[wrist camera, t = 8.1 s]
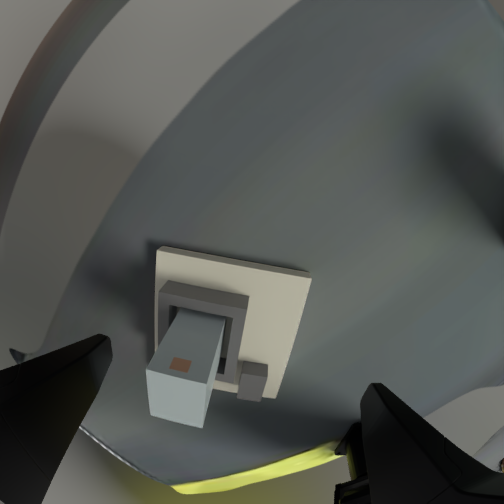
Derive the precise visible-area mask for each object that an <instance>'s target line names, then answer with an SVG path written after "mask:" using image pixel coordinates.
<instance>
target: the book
mask: <svg viewBox="0 0 504 504" xmlns="http://www.w3.org/2000/svg"><path fill="white" fill-rule="evenodd" d="M501 467H502V468H501V469H502V472H503V473H504V459H503V460H502V464H501Z"/></svg>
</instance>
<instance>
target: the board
mask: <svg viewBox="0 0 504 504" xmlns="http://www.w3.org/2000/svg"><path fill="white" fill-rule="evenodd" d="M311 280H312V278H311V275H310V272H304V271H299V270H293V269H287V268H282V267H276V266H271V265H265V264H260V263H254V262H248V261H243V260H237V259H232V258H226V257H221V256H216V255H210V254H205V253H199V252H194V251H189V250H183V249H178V248H173V247H167V246H162V247H160V248H159V249H158V250H157V256H156V276H155V352H156V350H157V348H158V347H159V345H160V343H161V341H162V340H163V338H164V336H165V334H166V333H167V331H168V329H169V327H170V326H171V324H172V322H173V321H174V319H175V317H176V316H177V314H178V312H179V310H180V309H181V307H183V308H187V309H192V310H196V311H201V312H206V313H211V314H216V315H221V316H226V317H227V319H226V326H225V333H224V340H223V347H222V353H221V356H220V360H219V364H218V368H217V372H216V376H215V380H214V384H213V389H218V390H223V391H228V392H234V393H237V398H238V399H244V400H250V401H257V402H261V398H262V397H266V398H274V399H276V396H277V393H278V390H279V387H280V384H281V381H282V378H283V375H284V372H285V369H286V366H287V363H288V359H289V356H290V353H291V350H292V347H293V343H294V340H295V337H296V333H297V330H298V327H299V323H300V320H301V316H302V313H303V309H304V306H305V302H306V298H307V295H308V291H309V287H310V284H311Z"/></svg>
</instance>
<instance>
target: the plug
mask: <svg viewBox="0 0 504 504" xmlns="http://www.w3.org/2000/svg"><path fill="white" fill-rule="evenodd" d="M226 319H227V317H226V316H221V315H216V314H211V313H206V312H201V311H196V310H192V309H187V308H183V307H181V309H180V310H179V312H178V314H177V316H176V317H175V319H174V321H173V322H172V324H171V326H170V327H169V329H168V331H167V333H166V334H165V336H164V338H163V340H162V341H161V343H160V345H159V347H158V348H157V350H156V352H155V354H154V355H153V357H152V359H151V361H150V362H149V364H148V366H147V368H146V377H147V389H148V398H149V407H150V415H152V416H156V417H159V418H163V419H166V420H170V421H174V422H178V423H182V424H186V425H190V426H194V427H199V428H203V424H204V420H205V416H206V412H207V408H208V404H209V400H210V396H211V392H212V388H213V384H214V380H215V376H216V372H217V368H218V364H219V360H220V356H221V353H222V347H223V340H224V333H225V326H226Z"/></svg>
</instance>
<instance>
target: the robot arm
mask: <svg viewBox="0 0 504 504" xmlns="http://www.w3.org/2000/svg"><path fill="white" fill-rule="evenodd" d="M112 356H113V355H112V347H111V340H110V338H109V337H108V336H105V335H102V334H97V335H94V336H91V337H89V338H86V339H84V340H81V341H79V342H76V343H73V344H71V345H68V346H66V347H63V348H60V349H58V350H55V351H52V352H50V353H47V354H44V355H42V356H39V357H36V358H34V359H31V360H28V361H26V362H23V363H21V364H17V365H15V366H12V367H9V368H6V369H3V370H0V504H41V503H42V501H43V499H44V497H45V494H46V492H47V490H48V488H49V486H50V484H51V481H52V479H53V477H54V475H55V473H56V471H57V469H58V467H59V465H60V463H61V460H62V459H63V457H64V455H65V453H66V450H67V449H68V447H69V445H70V443H71V441H72V439H73V437H74V435H75V433H76V432H77V430H78V428H79V426H80V424H81V422H82V421H83V419H84V417H85V415H86V413H87V412H88V410H89V408H90V406H91V404H92V403H93V401H94V399H95V397H96V395H97V393H98V391H99V389H100V387H101V384H102V382H103V380H104V377H105V375H106V373H107V370H108V368H109V366H110V364H111V361H112ZM360 409H361V423H356V424H354V425H352V427H351V428H350V430H349V431H348V433H347V434H346V436H345V437H344V439H343V440H342V442H341V443H340V444H339V446H338V447H337V449H336V450H335V455H346V456H347V461H348V466H349V471H350V477H351V481H348V482H345V483H342V484H341V483H340V484H336V486H335V487H336V488H335V492H334V493H335V494H334V504H504V473H499V472H495V471H493V470H491V469H489V468H488V467H486V466H485V465H483V464H482V463H480V462H478V461H477V460H475V459H474V458H472V457H471V456H469V455H468V454H467V453H465V452H464V451H462V450H461V449H460V448H458V447H457V446H456V445H455V444H453V443H452V442H451V441H450V440H448V439H447V438H446V437H444V436H443V435H442V434H441V433H440V432H439V431H438V430H436V429H435V428H434V427H433V426H431V425H430V424H429V423H428V422H427V421H426V420H424V419H423V418H422V417H421V416H420V415H418V414H417V413H416V412H415V411H414V410H413V409H411V408H410V407H409V406H408V405H407V404H406V403H404V402H403V401H402V400H401V399H400V398H398V397H397V396H396V395H395V394H394V393H393V392H391V391H390V390H389V389H388V388H387V387H386V386H384V385H383V384H382V383H371V384H370V385H369V386H368V388H367V390H366V391H365V393H364V395H363V397H362V399H361V402H360Z"/></svg>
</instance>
